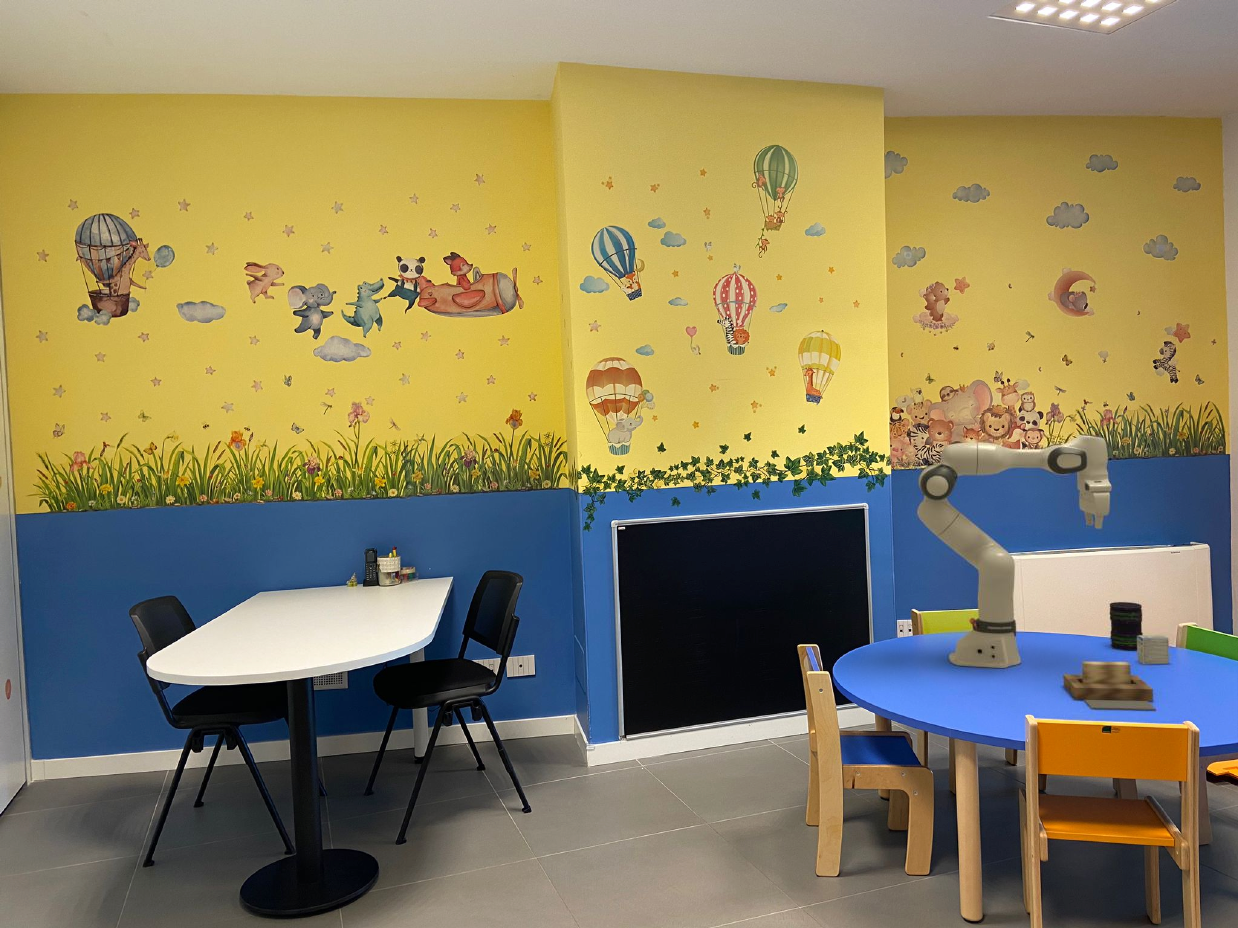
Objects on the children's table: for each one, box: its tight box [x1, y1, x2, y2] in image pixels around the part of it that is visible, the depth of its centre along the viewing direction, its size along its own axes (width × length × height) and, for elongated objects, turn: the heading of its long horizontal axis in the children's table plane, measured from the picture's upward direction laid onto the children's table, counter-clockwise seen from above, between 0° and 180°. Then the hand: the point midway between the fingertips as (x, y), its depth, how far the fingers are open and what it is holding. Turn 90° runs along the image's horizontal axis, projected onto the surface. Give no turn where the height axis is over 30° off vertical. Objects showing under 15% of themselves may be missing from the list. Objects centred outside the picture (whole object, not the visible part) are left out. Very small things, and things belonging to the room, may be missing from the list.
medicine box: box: [1136, 634, 1170, 665], centre depth 287 cm, size 8×4×9 cm, turn 84°
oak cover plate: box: [1081, 661, 1132, 684], centre depth 258 cm, size 12×3×9 cm, turn 76°
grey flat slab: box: [1084, 700, 1157, 712], centre depth 247 cm, size 16×7×1 cm, turn 76°
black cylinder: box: [1109, 601, 1144, 652], centre depth 306 cm, size 10×10×15 cm
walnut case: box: [1062, 673, 1154, 702], centre depth 258 cm, size 20×14×4 cm
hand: (1094, 526), depth 286 cm, fingers open, 8 cm apart
